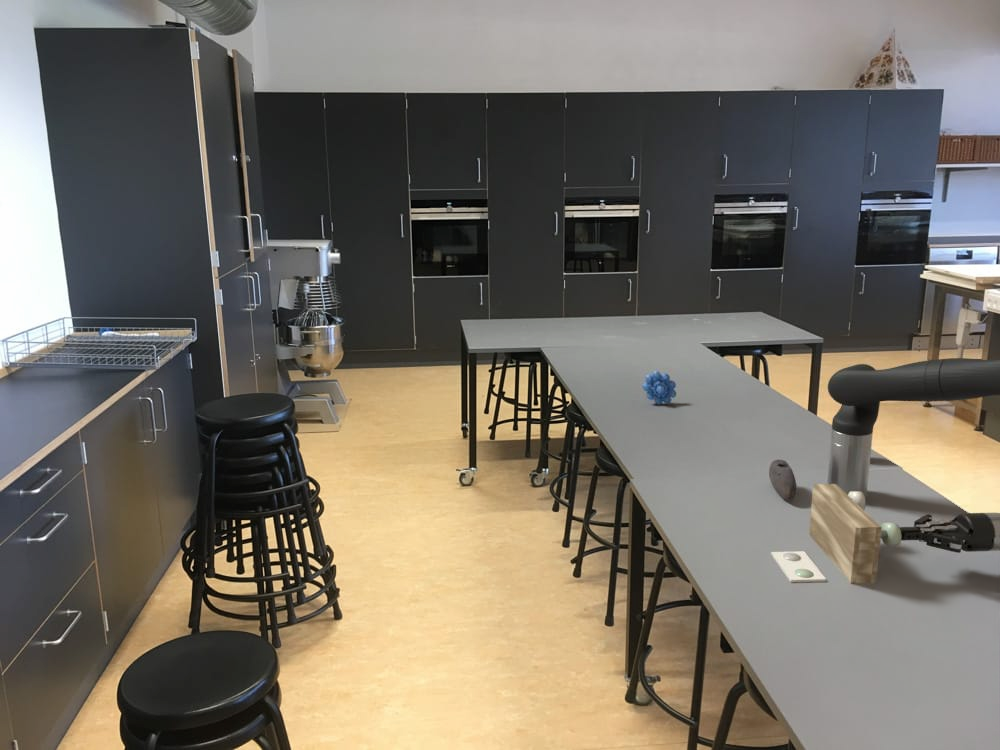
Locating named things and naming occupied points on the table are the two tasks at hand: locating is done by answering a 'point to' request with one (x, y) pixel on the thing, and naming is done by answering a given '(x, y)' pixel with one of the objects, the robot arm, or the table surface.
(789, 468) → the perforated stone tool
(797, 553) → the pattern card
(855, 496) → the button white
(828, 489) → the light wood rectangular block
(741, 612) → the table surface
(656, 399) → the blue bumpy cluster
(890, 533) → the button sage
